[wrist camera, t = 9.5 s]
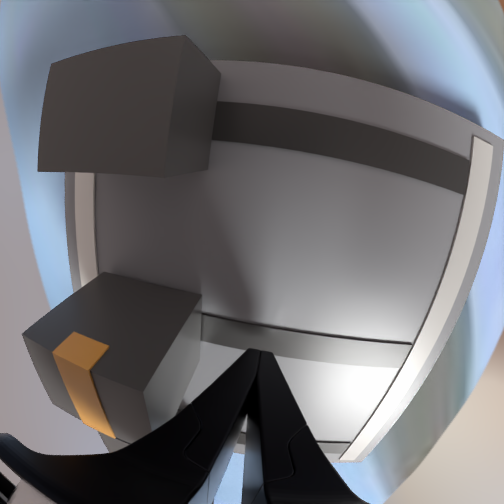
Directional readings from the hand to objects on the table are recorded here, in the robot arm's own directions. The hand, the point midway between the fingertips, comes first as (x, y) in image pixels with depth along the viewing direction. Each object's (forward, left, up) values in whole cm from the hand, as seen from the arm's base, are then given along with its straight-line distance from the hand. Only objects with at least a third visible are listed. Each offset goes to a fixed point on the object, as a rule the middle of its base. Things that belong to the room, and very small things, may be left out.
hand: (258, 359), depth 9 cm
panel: (0, 0, -2) cm, 2 cm away
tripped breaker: (0, +4, -1) cm, 4 cm away
